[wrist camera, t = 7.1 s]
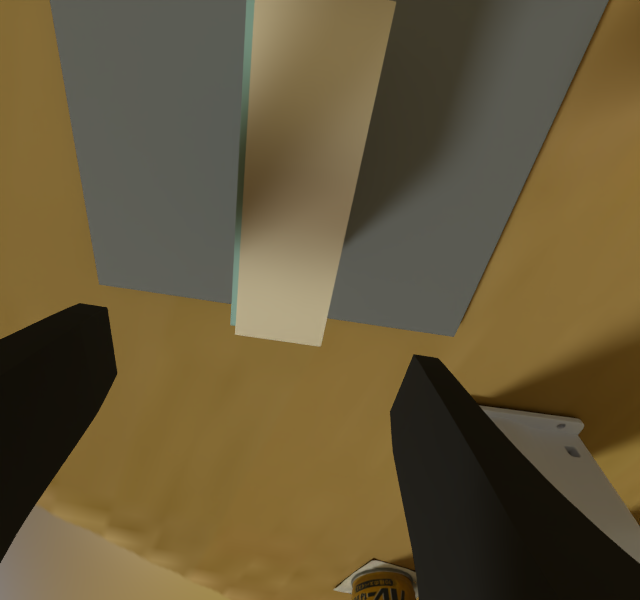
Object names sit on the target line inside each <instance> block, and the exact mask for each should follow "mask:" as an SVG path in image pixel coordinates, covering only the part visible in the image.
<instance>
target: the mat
mask: <svg viewBox="0 0 640 600" xmlns="http://www.w3.org/2000/svg"><path fill="white" fill-rule="evenodd" d="M391 1H396V6H395V11H394V15H393V20H392V24H391V29H390V33H389V38H388V43H387V47H386V52H385V56H384V61H383V65H382V70H381V74H380V79H379V83H378V88H377V93H376V97H375V102H374V106H373V111H372V115H371V120H370V124H369V129H368V134H367V138H366V143H365V147H364V152H363V156H362V161H361V165H360V170H359V175H358V179H357V184H356V188H355V193H354V197H353V202H352V206H351V211H350V216H349V220H348V225H347V229H346V234H345V238H344V243H343V247H342V252H341V256H340V261H339V266H338V270H337V275H336V279H335V284H334V288H333V293H332V297H331V302H330V307H329V311H328V316H327V318H330V319H337V320H344V321H351V322H357V323H364V324H371V325H378V326H384V327H391V328H398V329H405V330H411V331H418V332H425V333H432V334H438V335H445V336H452V337H454V335H455V333H456V331H457V329H458V327H459V325H460V322H461V320H462V318H463V316H464V314H465V312H466V309H467V307H468V305H469V303H470V301H471V299H472V296H473V294H474V292H475V290H476V288H477V286H478V283H479V281H480V279H481V277H482V275H483V272H484V270H485V268H486V266H487V264H488V262H489V259H490V257H491V255H492V253H493V251H494V249H495V246H496V244H497V242H498V240H499V238H500V236H501V233H502V231H503V229H504V227H505V225H506V222H507V220H508V218H509V216H510V214H511V212H512V209H513V207H514V205H515V203H516V201H517V199H518V196H519V194H520V192H521V190H522V188H523V186H524V183H525V181H526V179H527V177H528V175H529V173H530V170H531V168H532V166H533V164H534V162H535V159H536V157H537V155H538V153H539V151H540V149H541V146H542V144H543V142H544V140H545V138H546V136H547V133H548V131H549V129H550V127H551V125H552V123H553V120H554V118H555V116H556V114H557V112H558V109H559V107H560V105H561V103H562V101H563V99H564V96H565V94H566V92H567V90H568V88H569V86H570V83H571V81H572V79H573V77H574V75H575V73H576V70H577V68H578V66H579V64H580V62H581V59H582V57H583V55H584V53H585V51H586V49H587V46H588V44H589V42H590V40H591V38H592V36H593V33H594V31H595V29H596V27H597V25H598V23H599V20H600V18H601V16H602V14H603V12H604V10H605V7H606V5H607V3H608V1H609V0H391ZM50 4H51V10H52V15H53V21H54V27H55V33H56V38H57V44H58V50H59V56H60V61H61V67H62V73H63V79H64V84H65V90H66V96H67V102H68V107H69V113H70V119H71V125H72V130H73V136H74V142H75V148H76V153H77V159H78V165H79V171H80V176H81V182H82V188H83V194H84V199H85V205H86V211H87V217H88V222H89V228H90V234H91V240H92V245H93V251H94V257H95V263H96V268H97V274H98V280H99V284H100V285H107V286H114V287H120V288H127V289H134V290H141V291H148V292H154V293H161V294H168V295H175V296H181V297H188V298H195V299H202V300H208V301H215V302H222V303H229V304H232V284H233V264H234V244H235V223H236V203H237V183H238V162H239V142H240V121H241V101H242V81H243V60H244V40H245V20H246V0H50Z"/></svg>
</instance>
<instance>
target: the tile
mask: <svg viewBox="0 0 640 600" xmlns="http://www.w3.org/2000/svg"><path fill="white" fill-rule="evenodd" d="M395 6H396V1H391V0H246V20H245V40H244V60H243V81H242V101H241V121H240V142H239V162H238V183H237V203H236V223H235V244H234V264H233V284H232V305H231V325H234V326H236V328H235V335H242V336H249V337H256V338H263V339H270V340H277V341H284V342H291V343H298V344H306V345H313V346H320V347H321V343H322V338H323V334H324V329H325V325H326V320H327V316H328V311H329V307H330V302H331V297H332V293H333V288H334V284H335V279H336V275H337V270H338V266H339V261H340V256H341V252H342V247H343V243H344V238H345V234H346V229H347V225H348V220H349V216H350V211H351V206H352V202H353V197H354V193H355V188H356V184H357V179H358V175H359V170H360V165H361V161H362V156H363V152H364V147H365V143H366V138H367V134H368V129H369V124H370V120H371V115H372V111H373V106H374V102H375V97H376V93H377V88H378V83H379V79H380V74H381V70H382V65H383V61H384V56H385V52H386V47H387V43H388V38H389V33H390V29H391V24H392V20H393V15H394V11H395Z"/></svg>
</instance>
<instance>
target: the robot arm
mask: <svg viewBox="0 0 640 600" xmlns="http://www.w3.org/2000/svg"><path fill="white" fill-rule="evenodd" d="M116 375H117V368H116V361H115V355H114V348H113V342H112V335H111V329H110V322H109V316H108V309H107V307H101V306H94V305H88V304H81V303H79V304H77V305H74V306H72V307H69V308H67V309H64V310H62V311H60V312H58V313H56V314H53V315H51V316H49V317H47V318H45V319H43V320H41V321H38V322H36V323H34V324H32V325H30V326H28V327H26V328H24V329H22V330H19V331H17V332H15V333H13V334H11V335H9V336H7V337H5V338H2V339H0V563H1V561H2V559H3V557H4V556H5V554H6V552H7V550H8V548H9V547H10V545H11V543H12V541H13V539H14V538H15V536H16V534H17V533H18V531H19V529H20V528H21V526H22V524H23V523H24V521H25V520H26V518H27V517H28V515H29V514H30V512H31V510H32V509H33V507H34V506H35V504H36V503H37V501H38V500H39V498H40V497H41V496H42V494H43V493H44V491H45V490H46V488H47V487H48V485H49V484H50V482H51V481H52V479H53V478H54V477H55V475H56V474H57V472H58V471H59V469H60V468H61V466H62V465H63V463H64V462H65V460H66V459H67V458H68V456H69V455H70V453H71V452H72V450H73V449H74V447H75V446H76V444H77V443H78V441H79V440H80V438H81V437H82V436H83V434H84V433H85V431H86V430H87V428H88V427H89V425H90V424H91V422H92V421H93V419H94V418H95V416H96V414H97V413H98V411H99V409H100V407H101V405H102V403H103V402H104V400H105V398H106V396H107V394H108V392H109V390H110V388H111V386H112V384H113V382H114V379H115V377H116ZM390 417H391V434H392V446H393V455H394V460H395V465H396V471H397V476H398V481H399V486H400V491H401V496H402V501H403V506H404V511H405V516H406V521H407V526H408V531H409V536H410V541H411V547H412V552H413V558H414V564H415V571H416V578H417V587H418V597H419V600H640V526H639V525H638V523H637V521H636V520H635V518H634V517H633V515H632V514H631V512H630V511H629V510H628V508H627V507H626V505H625V504H624V502H623V501H622V499H621V498H620V496H619V495H618V493H617V492H616V490H615V489H614V487H613V486H612V485H611V483H610V482H609V480H608V479H607V477H606V476H605V474H604V473H603V471H602V470H601V468H600V467H599V465H598V464H597V462H596V461H595V460H594V458H593V457H592V455H591V454H590V452H589V451H588V449H587V448H586V446H585V445H584V443H583V442H582V440H581V439H580V438H579V436H578V434H579V433H580V432H581V431H582V430H583V428H584V424H583V423H582V421H581V420H580V419H577V418H570V417H562V416H555V415H547V414H540V413H532V412H525V411H517V410H510V409H503V408H495V407H488V406H480V405H478V404H477V403H476V401H475V400H474V399H473V398H472V397H471V396H470V394H469V393H468V392H467V391H466V390H465V389H464V387H463V386H462V385H461V384H460V383H459V381H458V380H457V379H456V378H455V377H454V376H453V374H452V373H451V372H450V371H449V370H448V369H447V368H446V366H445V365H444V364H443V363H442V362H441V361H440V360H439V359H438V358H434V357H427V356H421V355H413V357H412V360H411V362H410V365H409V367H408V369H407V372H406V374H405V377H404V379H403V382H402V384H401V387H400V389H399V391H398V394H397V396H396V399H395V401H394V404H393V406H392V408H391V411H390Z"/></svg>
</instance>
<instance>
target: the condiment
mask: <svg viewBox="0 0 640 600" xmlns="http://www.w3.org/2000/svg"><path fill="white" fill-rule="evenodd" d="M413 581H415V582H416V584H415V582H413ZM334 590H336V591H340V592H345V593H350V594H352V600H416V598H417V597H418V587H417V578H416V572H414V571H411V570H409V569H406V568H402V567H398V566H395V565H392V564H389V563H384V562H381V561H377V560H374V561H373V560H372V561H371V562H369V563H368V564H367V565H365V566H364V567H362V568H360V569H359V570H357V571H356V572H354V573H353V574H352V575H351V576H350V577H348V578H347V579H346V580H344V581H343V582H342V583H341V585H339V586H338V587H337V588H335V589H334Z"/></svg>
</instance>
